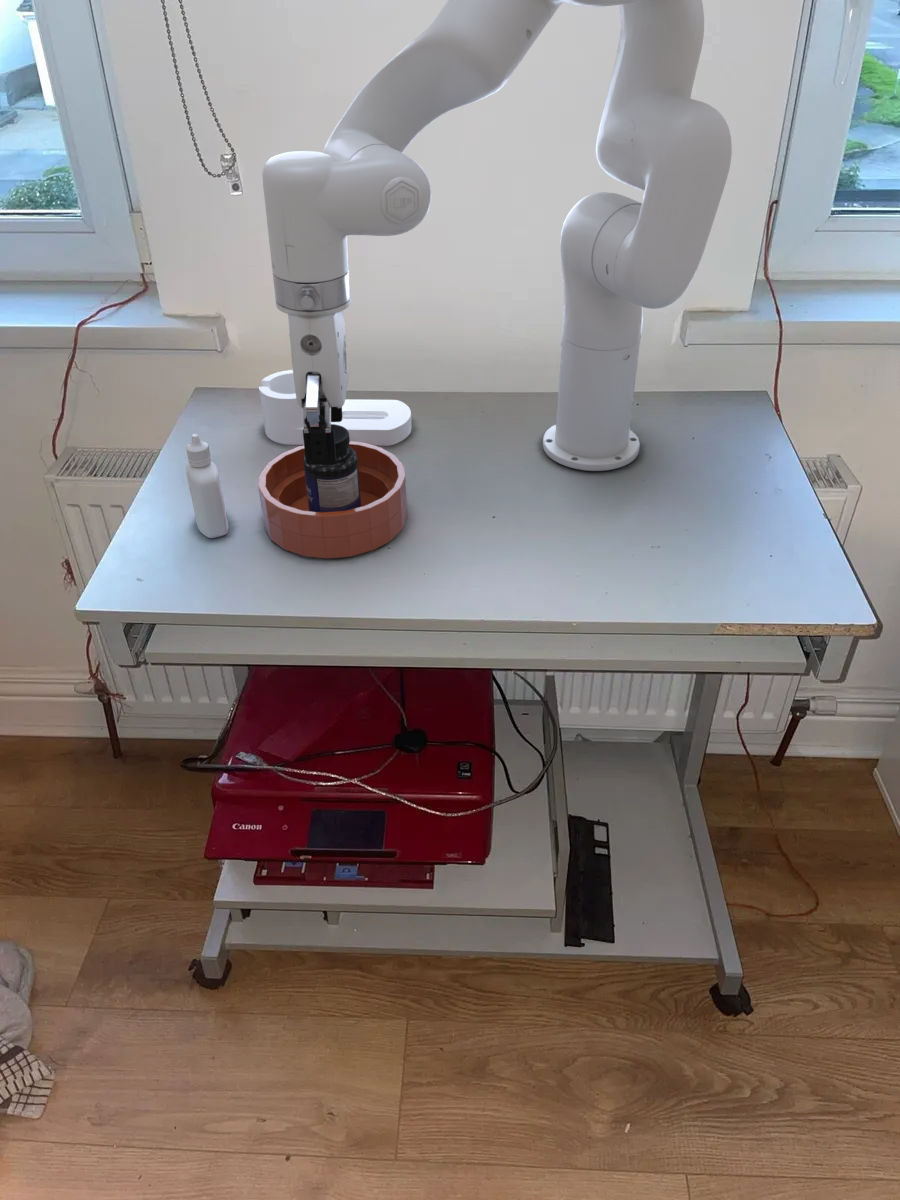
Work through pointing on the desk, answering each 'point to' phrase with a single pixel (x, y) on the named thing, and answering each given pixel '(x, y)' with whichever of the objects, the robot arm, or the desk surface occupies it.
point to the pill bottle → (334, 478)
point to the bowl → (341, 528)
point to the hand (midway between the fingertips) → (325, 441)
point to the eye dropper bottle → (206, 490)
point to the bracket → (359, 417)
